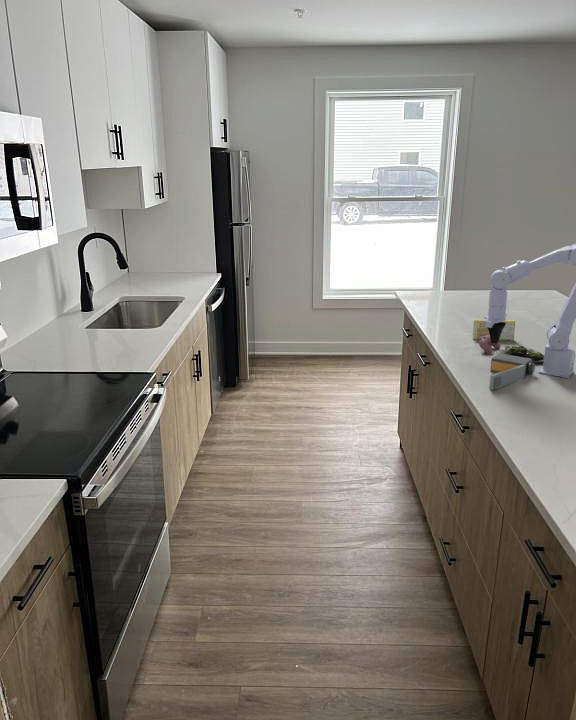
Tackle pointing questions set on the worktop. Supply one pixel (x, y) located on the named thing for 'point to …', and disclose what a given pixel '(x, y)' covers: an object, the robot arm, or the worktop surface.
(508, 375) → the side door
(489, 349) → the video game controller
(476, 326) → the candy box
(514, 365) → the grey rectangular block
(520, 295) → the worktop surface
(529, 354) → the salad plate
